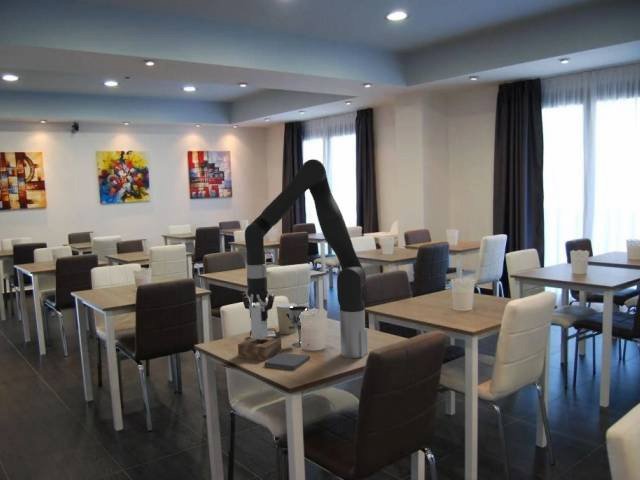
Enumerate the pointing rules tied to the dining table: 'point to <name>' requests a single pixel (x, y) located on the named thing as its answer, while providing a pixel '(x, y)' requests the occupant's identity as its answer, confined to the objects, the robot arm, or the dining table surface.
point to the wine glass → (297, 320)
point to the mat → (287, 361)
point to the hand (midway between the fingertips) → (258, 320)
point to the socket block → (259, 348)
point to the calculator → (270, 333)
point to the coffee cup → (285, 318)
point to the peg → (258, 323)
